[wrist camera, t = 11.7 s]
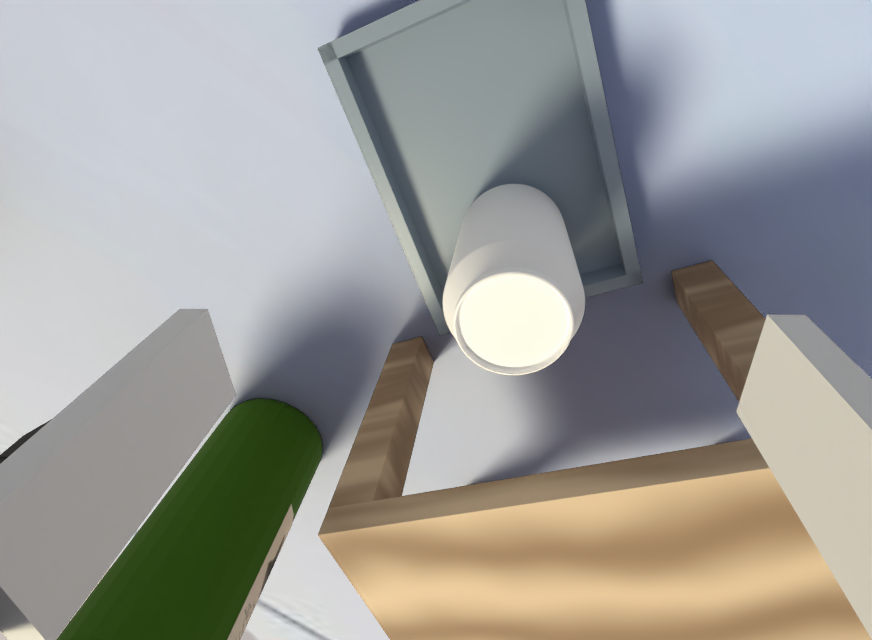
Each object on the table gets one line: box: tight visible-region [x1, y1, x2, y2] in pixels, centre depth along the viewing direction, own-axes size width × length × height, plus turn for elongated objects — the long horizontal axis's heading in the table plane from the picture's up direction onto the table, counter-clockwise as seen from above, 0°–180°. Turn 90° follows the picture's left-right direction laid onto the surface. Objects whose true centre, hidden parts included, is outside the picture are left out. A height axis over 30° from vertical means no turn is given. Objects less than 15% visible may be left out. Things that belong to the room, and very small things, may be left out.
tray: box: [318, 0, 643, 335], centre depth 29 cm, size 18×13×2 cm
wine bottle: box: [56, 398, 322, 640], centre depth 29 cm, size 9×9×32 cm
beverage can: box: [443, 184, 585, 375], centre depth 26 cm, size 6×6×12 cm
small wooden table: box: [318, 260, 872, 640], centre depth 31 cm, size 18×22×16 cm
